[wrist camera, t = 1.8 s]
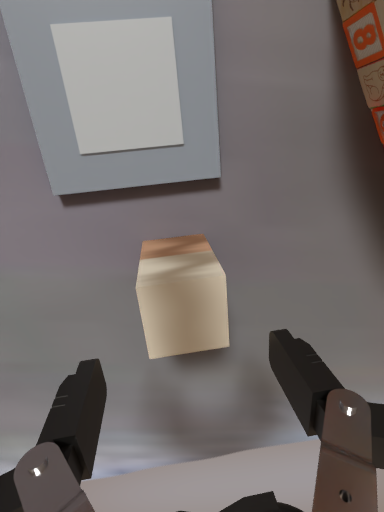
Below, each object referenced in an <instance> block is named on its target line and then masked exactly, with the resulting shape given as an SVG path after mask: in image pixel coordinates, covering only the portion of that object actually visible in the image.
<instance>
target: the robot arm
mask: <svg viewBox="0 0 384 512" xmlns="http://www.w3.org/2000/svg"><path fill="white" fill-rule="evenodd" d="M269 361H270V365H271V368H272V370H273V372H274V374H275V376H276V378H277V380H278V382H279V384H280V385H281V387H282V389H283V391H284V393H285V395H286V397H287V398H288V400H289V402H290V404H291V406H292V408H293V410H294V411H295V413H296V415H297V417H298V419H299V421H300V423H301V425H302V426H303V428H304V430H305V432H306V434H307V436H313V435H318V437H319V439H320V441H321V447H320V454H319V462H318V469H317V477H316V485H315V492H314V499H313V507H312V512H378V505H377V478H376V468H380V469H384V404H376V403H369V402H366V401H365V400H364V399H363V398H362V397H361V396H360V395H358V394H357V393H355V392H353V391H350V390H347V389H345V388H344V387H343V386H342V385H341V383H340V382H339V381H338V380H337V378H336V377H335V376H334V375H333V373H332V372H331V371H330V369H329V368H328V367H327V366H326V364H325V363H324V362H322V359H321V358H320V357H319V356H318V355H317V354H316V352H315V351H314V349H313V348H312V347H311V346H310V345H309V344H308V343H306V342H305V341H303V340H302V339H300V338H297V339H294V338H293V337H292V335H291V334H290V333H289V331H288V330H287V329H282V330H276V331H271V332H270V334H269ZM106 396H107V388H106V382H105V378H104V375H103V371H102V368H101V364H100V361H99V359H91V360H85V361H81V362H80V363H79V366H78V368H77V371H76V374H74V375H68V377H67V378H66V379H65V380H64V381H63V383H62V384H61V385H60V386H59V389H58V392H57V394H56V397H55V399H54V402H53V404H52V408H51V409H50V412H49V414H48V417H47V419H46V422H45V424H44V427H43V429H42V432H41V434H40V437H39V439H38V442H37V444H36V446H35V447H33V448H32V449H30V450H29V451H28V452H27V453H26V454H25V455H24V456H23V457H22V458H21V459H20V461H19V462H18V464H17V466H16V468H14V469H13V470H11V471H9V472H7V473H5V474H3V475H1V476H0V512H95V511H94V509H93V507H92V505H91V503H90V502H89V500H88V498H87V496H86V494H85V493H84V491H83V490H82V489H81V488H80V483H81V480H85V479H90V478H91V476H92V471H93V465H94V460H95V455H96V450H97V445H98V439H99V434H100V429H101V424H102V418H103V413H104V408H105V403H106ZM178 512H186V511H178ZM220 512H303V511H302V510H300V509H298V508H296V507H293V506H291V505H288V504H284V503H279V502H277V501H276V498H275V496H274V493H273V491H271V492H266V493H262V494H257V495H253V496H248V497H244V498H242V499H240V500H238V501H237V502H235V503H233V504H232V505H230V506H228V507H226V508H225V509H223V510H221V511H220Z"/></svg>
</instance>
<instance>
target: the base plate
mask: <svg viewBox="0 0 384 512" xmlns="http://www.w3.org/2000/svg"><path fill="white" fill-rule="evenodd" d="M0 9H1V13H2V16H3V20H4V23H5V27H6V31H7V34H8V38H9V41H10V45H11V48H12V52H13V55H14V59H15V62H16V66H17V69H18V73H19V76H20V80H21V83H22V87H23V91H24V94H25V98H26V101H27V105H28V108H29V112H30V115H31V119H32V122H33V126H34V129H35V133H36V136H37V140H38V143H39V147H40V151H41V154H42V158H43V161H44V165H45V168H46V172H47V175H48V179H49V182H50V186H51V189H52V193H53V196H54V195H63V194H72V193H82V192H91V191H100V190H109V189H118V188H127V187H136V186H145V185H154V184H163V183H172V182H181V181H190V180H199V179H208V178H217V177H221V171H220V152H219V133H218V113H217V94H216V74H215V55H214V35H213V16H212V0H0Z"/></svg>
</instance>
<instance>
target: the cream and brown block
mask: <svg viewBox="0 0 384 512" xmlns="http://www.w3.org/2000/svg"><path fill="white" fill-rule="evenodd" d="M136 292H137V297H138V302H139V307H140V312H141V317H142V322H143V328H144V333H145V338H146V343H147V348H148V353H149V358H150V359H154V358H160V357H166V356H173V355H179V354H185V353H192V352H198V351H204V350H210V349H217V348H223V347H229V329H228V310H227V291H226V275H225V273H224V271H223V269H222V267H221V266H220V264H219V262H218V260H217V258H216V256H215V255H214V253H213V251H212V249H211V247H210V245H209V244H208V242H207V240H206V238H205V236H204V234H197V235H189V236H181V237H174V238H166V239H158V240H150V241H143V243H142V250H141V256H140V263H139V269H138V276H137V283H136Z"/></svg>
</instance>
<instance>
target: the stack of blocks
mask: <svg viewBox="0 0 384 512" xmlns="http://www.w3.org/2000/svg"><path fill="white" fill-rule="evenodd" d="M336 1H337V5H338V8H339V11H340V15H341V18H342V21H343V28H344V32H345V35H346V38H347V41H348V44H349V48H350V51H351V54H352V57H353V60H354V63H355V67H356V68H357V73H358V76H359V80H360V83H361V86H362V90H363V93H364V96H365V99H366V102H367V105H368V107H369V108H370V109H371V111H372V116H373V118H374V121H375V124H376V128H377V131H378V134H379V137H380V140H381V143H382V144H383V147H384V0H336Z"/></svg>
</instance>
